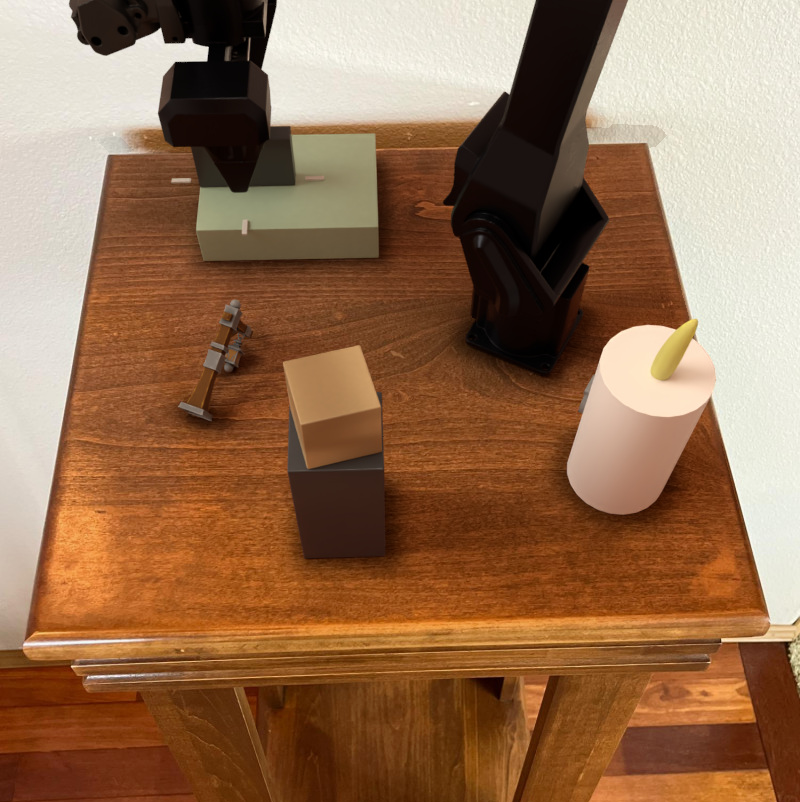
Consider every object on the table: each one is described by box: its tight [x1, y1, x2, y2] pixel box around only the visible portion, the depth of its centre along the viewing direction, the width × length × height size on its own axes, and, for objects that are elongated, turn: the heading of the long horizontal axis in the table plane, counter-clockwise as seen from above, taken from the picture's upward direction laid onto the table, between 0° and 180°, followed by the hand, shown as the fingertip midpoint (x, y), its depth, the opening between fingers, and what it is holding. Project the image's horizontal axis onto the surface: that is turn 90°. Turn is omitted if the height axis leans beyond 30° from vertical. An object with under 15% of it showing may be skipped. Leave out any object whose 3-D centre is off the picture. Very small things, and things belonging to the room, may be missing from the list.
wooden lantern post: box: [177, 299, 254, 422], centre depth 60 cm, size 2×8×4 cm, turn 158°
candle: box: [566, 318, 717, 516], centre depth 52 cm, size 6×6×15 cm
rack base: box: [170, 133, 380, 262], centre depth 68 cm, size 15×11×3 cm
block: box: [282, 345, 382, 469], centre depth 46 cm, size 4×4×4 cm
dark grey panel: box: [190, 125, 296, 188], centre depth 65 cm, size 7×1×4 cm, turn 92°
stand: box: [286, 391, 386, 559], centre depth 52 cm, size 5×5×10 cm
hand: (242, 145), depth 64 cm, fingers open, 9 cm apart
